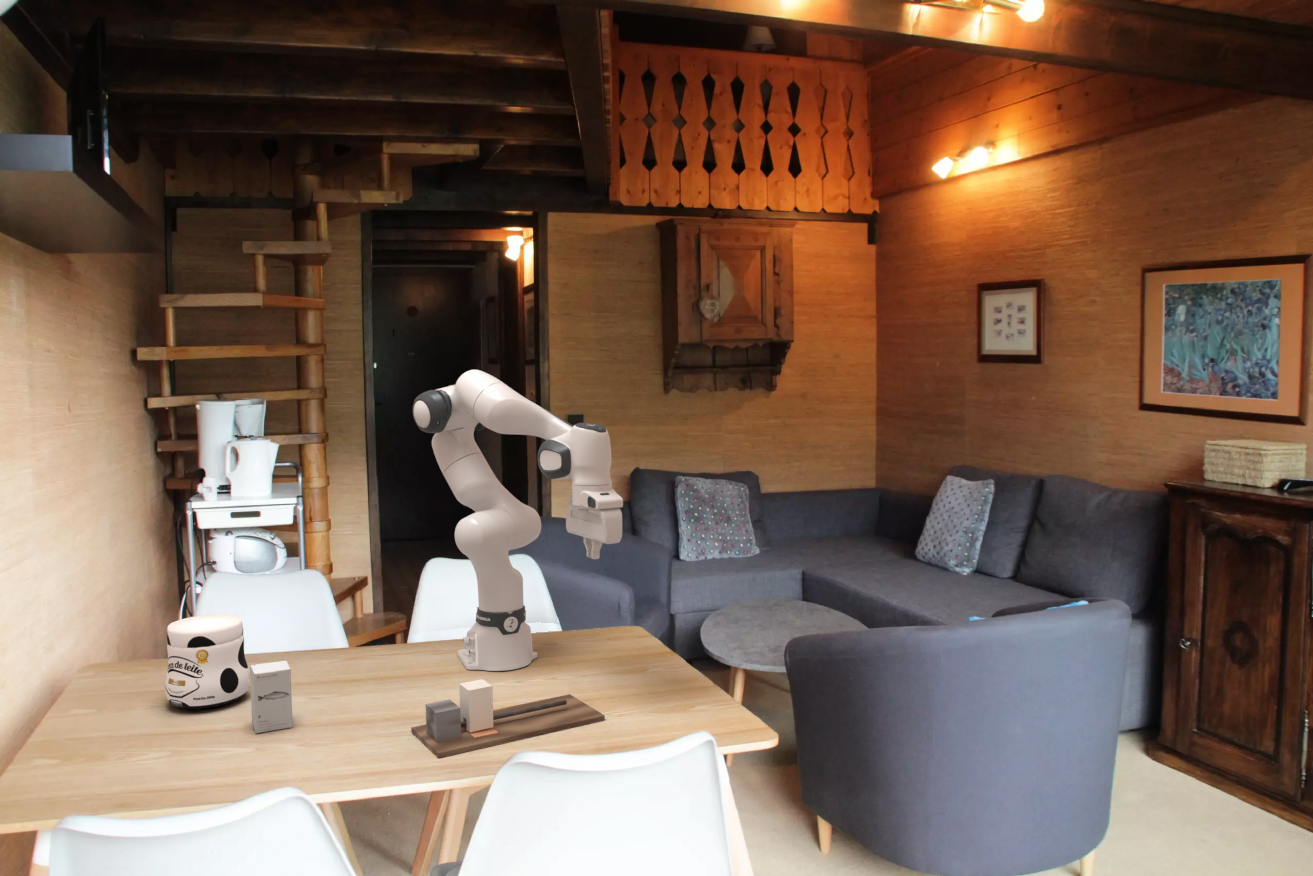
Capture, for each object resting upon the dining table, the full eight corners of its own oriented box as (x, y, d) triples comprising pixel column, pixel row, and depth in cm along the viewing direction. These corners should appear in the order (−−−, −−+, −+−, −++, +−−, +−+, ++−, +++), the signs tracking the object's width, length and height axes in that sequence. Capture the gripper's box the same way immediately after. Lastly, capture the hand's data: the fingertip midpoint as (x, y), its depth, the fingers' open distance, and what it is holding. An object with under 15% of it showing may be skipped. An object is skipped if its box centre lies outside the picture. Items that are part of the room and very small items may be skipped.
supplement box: (255, 734, 200) (252, 673, 199) (251, 723, 207) (249, 664, 206) (293, 728, 203) (291, 668, 202) (289, 717, 210) (286, 659, 209)
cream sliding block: (460, 724, 200) (459, 683, 199) (483, 719, 203) (482, 679, 202) (469, 732, 196) (468, 690, 195) (493, 727, 198) (492, 686, 198)
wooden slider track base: (411, 732, 200) (410, 698, 200) (569, 698, 219) (569, 667, 219) (438, 758, 187) (437, 722, 186) (604, 720, 206) (604, 687, 205)
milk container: (155, 718, 210) (151, 635, 209) (177, 692, 227) (173, 615, 226) (242, 711, 214) (238, 630, 213) (257, 686, 231) (253, 610, 229)
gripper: (558, 492, 225) (559, 552, 226) (601, 502, 208) (602, 567, 209) (582, 490, 229) (584, 549, 230) (627, 500, 211) (628, 564, 212)
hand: (593, 558), depth 219 cm, fingers closed
